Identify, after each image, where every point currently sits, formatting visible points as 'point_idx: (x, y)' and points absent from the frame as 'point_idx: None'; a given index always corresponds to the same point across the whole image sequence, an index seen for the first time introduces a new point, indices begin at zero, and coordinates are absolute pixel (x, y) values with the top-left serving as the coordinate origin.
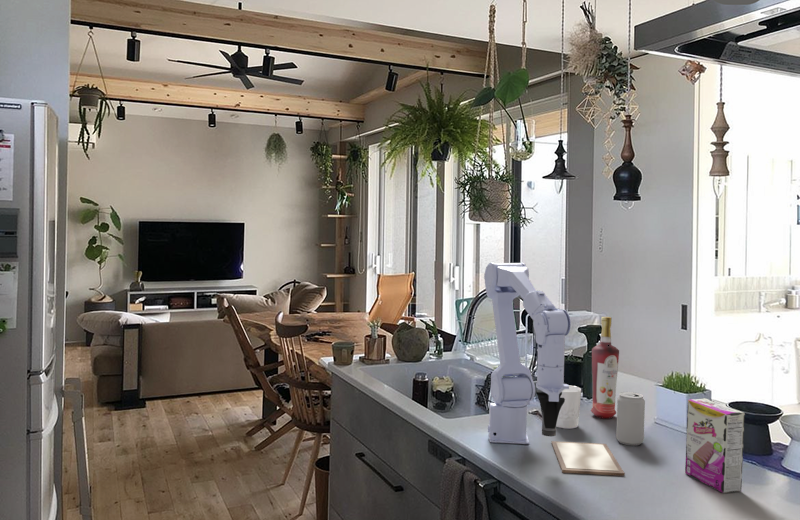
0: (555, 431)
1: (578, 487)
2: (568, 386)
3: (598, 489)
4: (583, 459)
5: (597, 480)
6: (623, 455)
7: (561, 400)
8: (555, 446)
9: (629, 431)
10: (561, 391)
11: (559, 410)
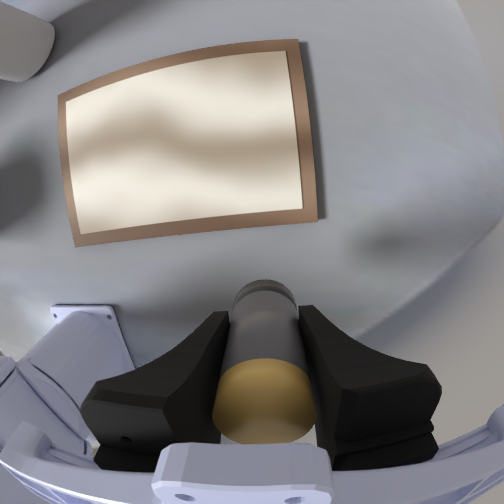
0: (276, 289)
1: (411, 185)
2: (326, 485)
3: (413, 134)
4: (206, 148)
5: (354, 122)
6: (119, 44)
7: (439, 394)
8: (110, 236)
9: (33, 37)
10: (444, 462)
11: (371, 349)
